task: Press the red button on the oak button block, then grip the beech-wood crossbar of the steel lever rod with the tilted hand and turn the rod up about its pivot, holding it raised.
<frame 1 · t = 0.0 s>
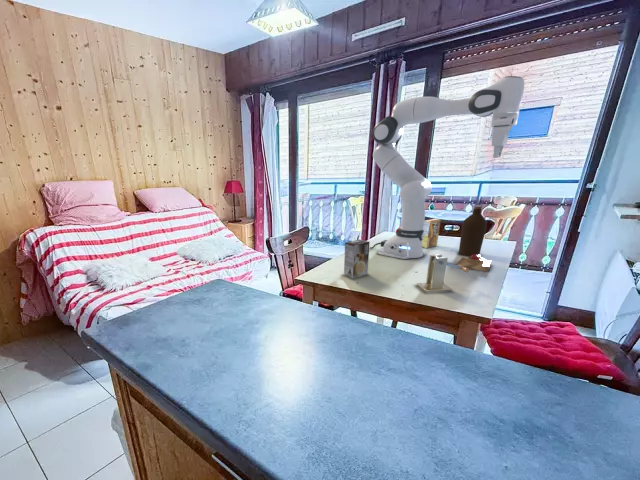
hand: (496, 157, 140), 48 cm above the table, tool pointing down, fingers open, 8 cm apart
button block: (474, 266, 154), on the table
lever: (449, 264, 129), point 10 cm above the table, hinge at -20.0°
olive oil: (468, 254, 172), on the table
bracket: (433, 288, 133), on the table
button: (475, 257, 153), point 4 cm above the table, slide at 0.1 cm
candy box: (428, 246, 189), on the table
coffee box: (355, 275, 152), on the table
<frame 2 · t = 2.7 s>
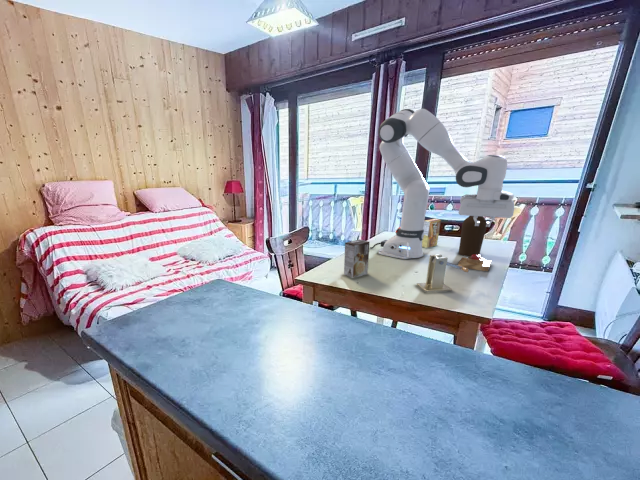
hand: (482, 226, 147), 19 cm above the table, tool pointing down, fingers open, 3 cm apart
nothing on the table moved.
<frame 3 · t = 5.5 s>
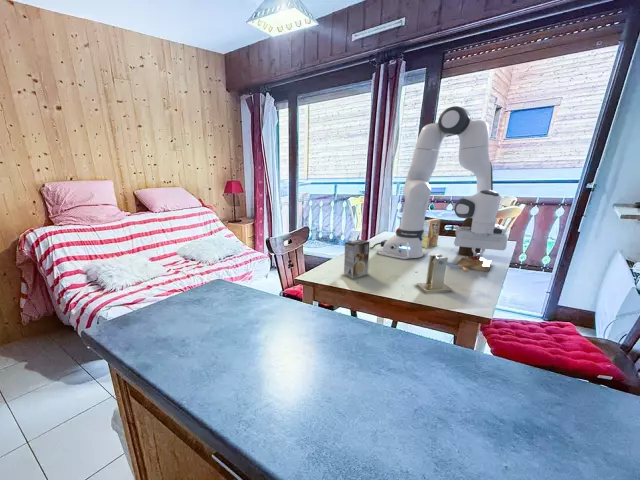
hand: (476, 257, 153), 4 cm above the table, tool pointing down, fingers closed, pressing on button
button: (475, 259, 153), point 4 cm above the table, slide at -0.8 cm, touching gripper
everything else where it was.
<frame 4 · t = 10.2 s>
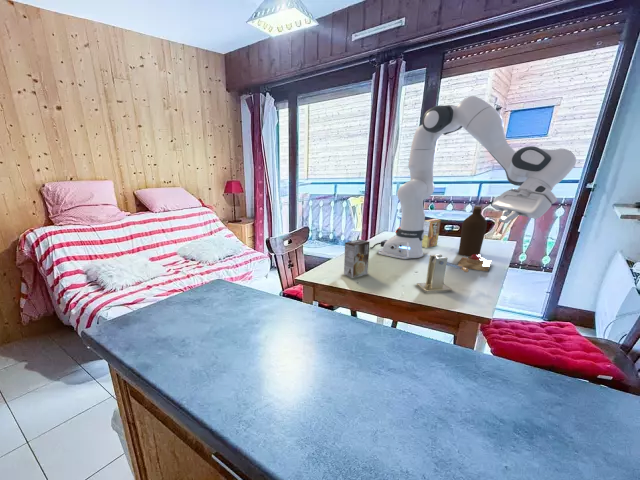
hand: (502, 221, 125), 26 cm above the table, tool tilted 40°, fingers closed
button: (475, 257, 153), point 4 cm above the table, slide at 0.1 cm
everything else where it was.
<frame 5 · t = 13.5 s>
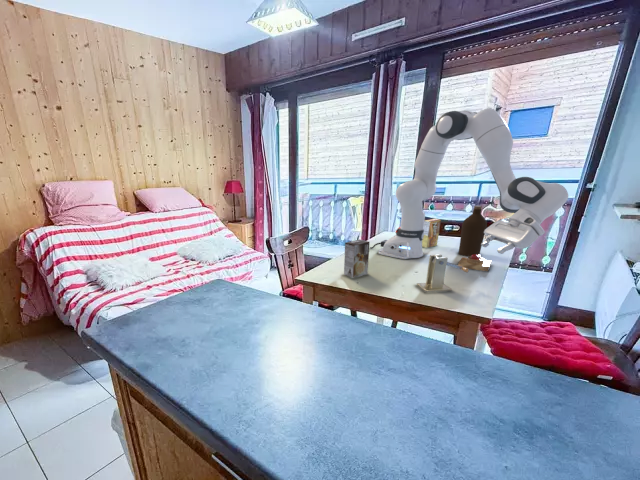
hand: (490, 249, 127), 16 cm above the table, tool tilted 45°, fingers open, 8 cm apart
nothing on the table moved.
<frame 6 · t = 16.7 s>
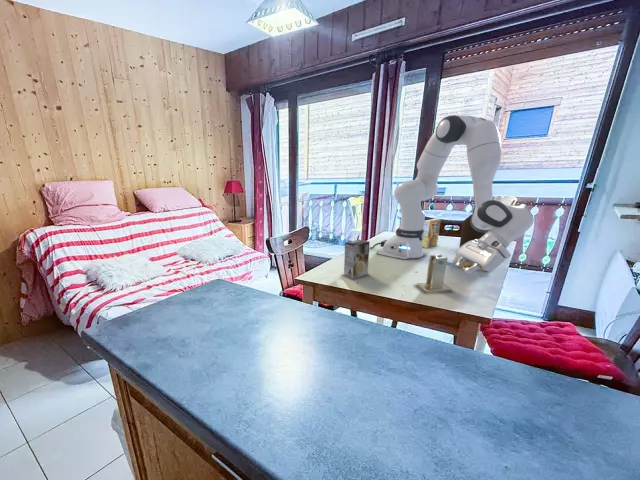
hand: (460, 269, 130), 8 cm above the table, tool tilted 45°, fingers closed on lever, 5 cm apart
lever: (449, 264, 129), point 10 cm above the table, hinge at -19.9°, touching gripper
everything else where it was.
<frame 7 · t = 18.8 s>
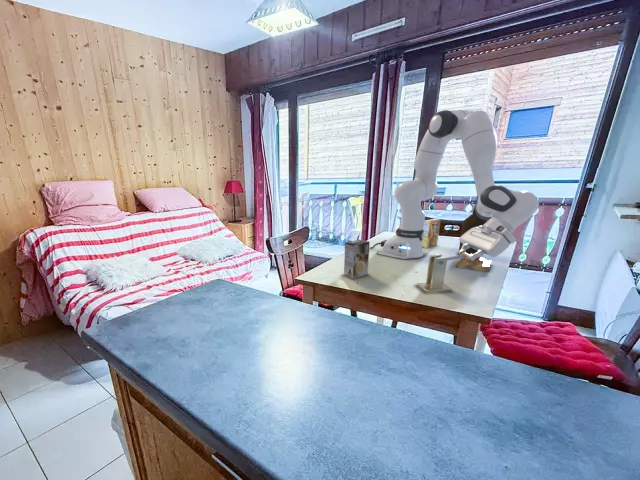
hand: (464, 256, 128), 13 cm above the table, tool tilted 45°, fingers closed on lever, 5 cm apart
lever: (451, 258, 128), point 13 cm above the table, hinge at 7.9°, touching gripper
everything else where it was.
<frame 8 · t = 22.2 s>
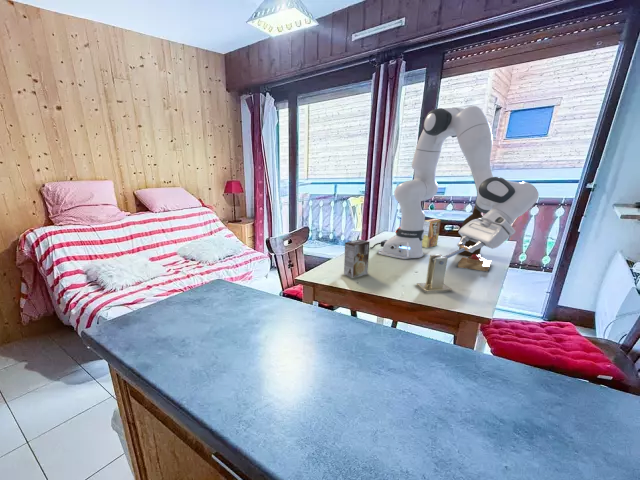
hand: (464, 248, 127), 16 cm above the table, tool tilted 45°, fingers closed on lever, 5 cm apart
lever: (450, 255, 128), point 14 cm above the table, hinge at 24.2°, touching gripper
everything else where it was.
at the end: lever at +24° (first picture: -20°); button pushed in 1.1 cm at the most during the clip, back to where it started at the end; button slide at 0.1 cm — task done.
